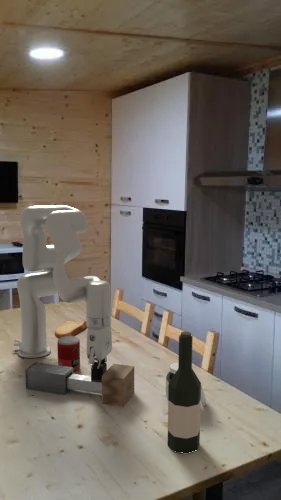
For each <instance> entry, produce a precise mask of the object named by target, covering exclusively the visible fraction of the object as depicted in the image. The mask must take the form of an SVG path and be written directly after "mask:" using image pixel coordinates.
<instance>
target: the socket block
mask: <svg viewBox="0 0 281 500" xmlns="http://www.w3.org/2000/svg"><path fill="white" fill-rule="evenodd" d="M134 394H135V366H134V365H127V364H120V363H113V364H112V365H111V366H109V368H107V371H106V372H105V373H104V374H103V375H102V394H101V404H102V405H106V406H107V405H108V406H114V407H119V408H125V406H126V405H127V403H128V402H129V401H130V399H131V398H132V397H133V395H134Z"/></svg>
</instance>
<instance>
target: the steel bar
mask: <svg viewBox="0 0 281 500" xmlns="http://www.w3.org/2000/svg"><path fill="white" fill-rule="evenodd" d="M100 368H101V369H102V375H103V374H104V373H105V372H106V371H107V370H108V364H107V363H106V364H104V363H100ZM66 389H70V390H73V391H80V392H87V393H94V394H98V395H99V394H100V395H102V379H101V380H100V381H99V380H92V379H91V375H83V374H79V373H78V374H77V373H73V374H72V373H70V374H69V375H67V376H66Z"/></svg>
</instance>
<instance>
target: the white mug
mask: <svg viewBox="0 0 281 500" xmlns="http://www.w3.org/2000/svg"><path fill="white" fill-rule="evenodd" d="M178 366H179V361H177V362H174V363H171V364H170V365H169V371H168V372H167V373H166V377H165V396H166V400H168V384H169V383H170V381H171V379H172V378H173V376H174V375H175V373H176V371H177V370H178ZM205 395H206V394H205V392H204V390H203V385H201V406H203V407H204V406H207V405H208V403H207V399H206V396H205Z"/></svg>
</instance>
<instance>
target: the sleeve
mask: <svg viewBox="0 0 281 500" xmlns="http://www.w3.org/2000/svg"><path fill="white" fill-rule="evenodd" d="M70 373H72V374H74V372H73V367H66V366H59V365H58V364H51V363H50V364H49V363H43V362H38V361H37V362H34V363H33V364H31V365H30V366H28V367H26V368H25V389H27V390H31V391H38V392H44V393H51V394H56V395H57V394H58V395H63V396H65V395H66V394H67V393H69V391H70V390H71V389H66V376H67V375H69V374H70Z"/></svg>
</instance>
